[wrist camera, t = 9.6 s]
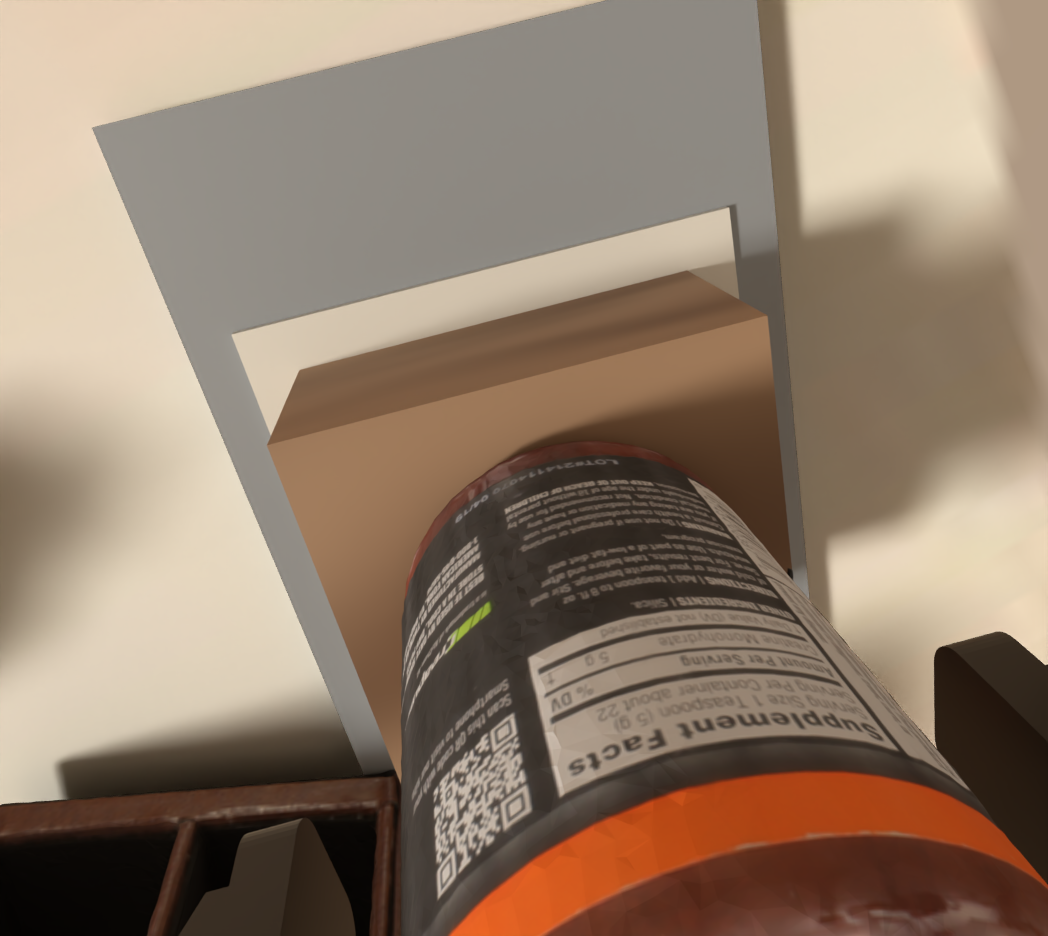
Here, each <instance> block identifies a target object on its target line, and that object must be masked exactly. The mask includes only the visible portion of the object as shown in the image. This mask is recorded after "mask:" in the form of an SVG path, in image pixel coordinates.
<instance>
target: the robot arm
mask: <svg viewBox="0 0 1048 936" xmlns="http://www.w3.org/2000/svg"><path fill="white" fill-rule="evenodd" d="M934 708H935V742H936V747H937V750H938V751H939V752H940V753H941V754H942V755H943V756H944V758H945V759H946V760H947V761H948V762H949V764H950V765H951V766H953V767H954V768H955V770H956V771H957V773H958V774H959V775H960V777H961V778H962V780H963V781H964V782H965V784H966V785H967V786H968V788H969V789H970V790H971V791H972V792H973V793H974V795H975V796H976V797H977V798H978V800H979V801H980V802H981V804H982V805H983V806H984V808H985V809H986V811H987V812H988V814H989V815H990V817H991V818H992V820H993V821H994V822H995V824H996V825H997V826H998V827H999V828H1000V829H1001V830H1002V832H1003V833H1004V834H1005V835H1006V836H1007V838H1008V839H1009V841H1010V842H1011V843H1012V844H1013V845H1014V846H1015V847H1016V848H1017V849H1018V850H1019V852H1020V853H1021V854H1022V855H1023V856H1024V857H1025V858H1026V860H1027V861H1028V862H1029V863H1030V864H1031V866H1032V867H1033V868H1034V869H1035V870H1036V872H1037V873H1038V874H1039V875H1040V876H1041V877H1042V879H1043V880H1044V881H1045V882H1046V883H1047V885H1048V665H1044V664H1043V663H1042V662H1041V661H1040V660H1038V659H1037V658H1036V657H1035V656H1034V655H1033V654H1031V653H1030V652H1029V651H1028V650H1027V649H1026V648H1025V647H1023V646H1022V645H1021V644H1020V643H1019V642H1018V641H1016V640H1015V639H1014V638H1013V637H1011V636H1010V635H1008V634H1006V633H1003V632H994V633H990V634H986V635H983V636H979V637H975V638H972V639H968V640H964V641H961V642H957V643H953V644H950V645H946V646H942V647H940V648H938V649H937V651H936V653H935V657H934ZM179 936H356V933H355V925H354V918H353V913H352V909H351V905H350V902H349V899H348V897H347V894H346V892H345V890H344V888H343V886H342V884H341V881H340V879H339V877H338V875H337V873H336V871H335V869H334V867H333V865H332V862H331V860H330V858H329V856H328V854H327V852H326V850H325V848H324V846H323V843H322V841H321V839H320V837H319V835H318V833H317V831H316V829H315V827H314V825H313V823H312V822H311V821H310V820H309V819H308V818H302V819H298V820H295V821H291V822H287V823H284V824H280V825H276V826H273V827H269V828H265V829H262V830H258V831H254V832H251V833H247V834H245V835H244V836H243V837H242V839H241V841H240V843H239V846H238V850H237V854H236V858H235V862H234V867H233V871H232V875H231V879H230V884H229V886H228V887H224V888H221V889H217V890H213V891H210V892H206V893H205V895H204V896H203V898H202V899H201V901H200V903H199V904H198V906H197V907H196V909H195V911H194V912H193V914H192V915H191V917H190V918H189V920H188V922H187V923H186V925H185V926H184V928H183V930H182V931H181V933H180V934H179Z"/></svg>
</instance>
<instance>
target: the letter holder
mask: <svg viewBox="0 0 1048 936" xmlns="http://www.w3.org/2000/svg"><path fill="white" fill-rule="evenodd" d="M302 818H308V819H309V820H310V821H311V822H312V823H313V825H314V827H315V829H316V831H317V833H318V835H319V837H320V839H321V841H322V843H323V846H324V848H325V850H326V852H327V854H328V856H329V858H330V860H331V862H332V865H333V867H334V869H335V871H336V873H337V875H338V877H339V879H340V881H341V884H342V886H343V888H344V890H345V892H346V894H347V897H348V899H349V902H350V905H351V909H352V913H353V918H354V925H355V933H356V936H401V877H400V876H401V783H400V780H399V778H398V775H397V773H396V770H389V771H386V772H382V773H378V774H370V775H363V776H351V777H340V778H331V779H318V780H305V781H296V782H285V783H268V784H255V785H242V786H232V787H218V788H204V789H193V790H177V791H164V792H153V793H140V794H125V795H121V796H105V797H95V798H84V799H70V800H54V801H38V802H32V803H10V804H2V805H0V936H179V934H180V933H181V931H182V930H183V928H184V926H185V925H186V923H187V922H188V920H189V918H190V917H191V915H192V914H193V912H194V911H195V909H196V907H197V906H198V904H199V903H200V901H201V899H202V898H203V896H204V895H205V893H206V892H210V891H213V890H217V889H221V888H224V887H228V886H229V884H230V879H231V875H232V871H233V867H234V862H235V858H236V854H237V850H238V846H239V843H240V841H241V839H242V837H243V836H244V835H245V834H247V833H251V832H254V831H258V830H262V829H265V828H269V827H273V826H276V825H280V824H284V823H287V822H291V821H295V820H298V819H302Z"/></svg>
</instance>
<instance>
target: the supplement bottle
mask: <svg viewBox="0 0 1048 936" xmlns="http://www.w3.org/2000/svg"><path fill="white" fill-rule="evenodd" d="M401 686H402V689H401V708H402V712H401V720H400V721H401V739H402V755H401V772H402V776H401V876H400V877H401V936H1048V885H1047V883H1046V882H1045V881H1044V880H1043V879H1042V877H1041V876H1040V875H1039V874H1038V873H1037V872H1036V870H1035V869H1034V868H1033V867H1032V866H1031V864H1030V863H1029V862H1028V861H1027V860H1026V858H1025V857H1024V856H1023V855H1022V854H1021V853H1020V852H1019V850H1018V849H1017V848H1016V847H1015V846H1014V845H1013V844H1012V843H1011V842H1010V841H1009V839H1008V838H1007V836H1006V835H1005V834H1004V833H1003V832H1002V830H1001V829H1000V828H999V827H998V826H997V825H996V824H995V822H994V821H993V820H992V818H991V817H990V815H989V814H988V812H987V811H986V809H985V808H984V806H983V805H982V804H981V802H980V801H979V800H978V798H977V797H976V796H975V795H974V793H973V792H972V791H971V790H970V789H969V788H968V786H967V785H966V784H965V782H964V781H963V780H962V778H961V777H960V775H959V774H958V773H957V771H956V770H955V768H954V767H953V766H951V765H950V764H949V762H948V761H947V760H946V759H945V758H944V756H943V755H942V754H941V753H940V752H939V751H938V750H937V749H936V747H935V746H934V745H933V744H932V743H931V742H930V741H929V739H928V738H927V737H926V736H925V735H924V734H923V732H922V731H921V730H920V729H919V728H918V727H917V726H916V725H915V724H914V723H913V721H912V720H911V719H910V718H909V717H908V716H907V715H906V714H905V713H904V711H903V710H902V709H901V708H900V706H899V705H898V704H897V703H896V702H895V700H894V699H893V698H892V697H891V695H890V694H889V693H888V692H887V691H886V689H885V688H884V687H883V686H882V685H881V684H880V683H879V681H878V680H877V679H876V678H875V676H874V675H873V674H872V673H871V671H870V670H869V669H868V668H867V667H866V665H865V664H864V663H863V662H862V661H861V660H860V659H859V658H858V657H857V655H856V654H855V653H854V652H853V651H852V650H851V649H850V648H849V646H848V645H847V643H846V642H845V641H844V640H843V639H842V637H841V636H840V635H839V634H838V633H837V632H836V631H835V629H834V628H833V627H832V626H831V624H830V623H829V622H828V621H827V620H826V618H825V617H824V616H823V615H822V614H821V613H820V612H819V611H818V610H817V609H816V607H815V606H814V605H813V604H812V603H811V601H810V600H809V599H808V598H807V596H806V595H805V594H804V593H803V592H802V591H801V589H800V588H799V587H798V586H797V585H796V584H795V582H794V581H793V570H792V569H790V568H788V570H787V573H786V572H785V571H784V570H783V568H782V567H781V566H780V565H779V564H778V562H777V561H776V560H775V559H774V558H773V557H772V555H771V554H770V553H769V552H768V550H767V549H766V548H765V546H764V545H763V544H762V543H761V542H760V541H759V540H758V539H757V537H756V536H755V535H754V534H753V533H752V532H751V531H750V529H749V528H748V527H747V526H746V524H745V523H744V522H743V521H742V520H741V519H740V518H739V516H738V515H737V514H736V513H735V512H734V511H733V510H732V509H731V508H730V507H729V506H728V505H727V504H726V503H725V502H723V501H722V500H721V499H720V497H719V496H718V495H717V494H716V493H715V492H714V491H713V490H712V489H711V488H710V487H709V486H708V485H707V483H706V482H704V481H703V480H702V479H701V478H699V477H698V476H697V475H695V474H694V473H693V472H691V471H690V470H689V469H688V468H686V467H684V466H682V465H681V464H679V463H676V462H675V461H673V460H672V459H670V458H669V457H667V456H664V455H662V454H659V453H658V452H655V451H652V450H649V449H645V448H642V447H637V446H634V445H630V444H623V443H617V442H605V441H576V442H567V443H561V444H556V445H548V446H544V447H540V448H537V449H534V450H531V451H528V452H525V453H522V454H519V455H517V456H514V457H512V458H510V459H508V460H505V461H503V462H501V463H499V464H497V465H496V466H494V467H493V468H491V469H489V470H488V471H487V472H485V473H484V474H483V475H482V476H480V477H479V478H477V479H476V480H474V481H473V482H471V483H470V484H468V485H467V486H466V487H465V488H464V489H463V490H462V491H460V492H459V493H458V494H457V495H456V496H454V497H453V498H452V499H451V500H450V501H449V503H448V504H447V505H446V506H445V508H444V509H443V510H442V511H441V513H440V514H439V515H438V516H437V517H436V518H435V519H434V521H433V523H432V524H431V526H430V528H429V530H428V531H427V533H426V535H425V537H424V538H423V540H422V542H421V543H420V545H419V547H418V549H417V551H416V554H415V556H414V560H413V563H412V566H411V569H410V572H409V575H408V578H407V582H406V593H405V600H404V612H403V615H402V676H401Z"/></svg>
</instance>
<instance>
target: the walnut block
mask: <svg viewBox="0 0 1048 936" xmlns="http://www.w3.org/2000/svg"><path fill="white" fill-rule="evenodd" d="M576 441H605V442H617V443H623V444H630V445H634V446H637V447H642V448H645V449H649V450H652V451H655V452H658V453H659V454H662V455H664V456H667V457H669V458H670V459H672V460H673V461H675V462H676V463H679V464H681V465H682V466H684V467H686V468H688V469H689V470H690V471H691V472H693V473H694V474H695V475H697V476H698V477H699V478H701V479H702V480H703V481H704V482H706V483H707V485H708V486H709V487H710V488H711V489H712V490H713V491H714V492H715V493H716V494H717V495H718V496H719V497H720V499H721V500H722V501H723V502H725V503H726V504H727V505H728V506H729V507H730V508H731V509H732V510H733V511H734V512H735V513H736V514H737V515H738V516H739V518H740V519H741V520H742V521H743V522H744V523H745V524H746V526H747V527H748V528H749V529H750V531H751V532H752V533H753V534H754V535H755V536H756V537H757V539H758V540H759V541H760V542H761V543H762V544H763V545H764V546H765V548H766V549H767V550H768V552H769V553H770V554H771V555H772V557H773V558H774V559H775V560H776V561H777V562H778V564H779V565H780V566H781V567H782V568H783V570H784V571H785V572H786V573H787V570H788V568H790V569H792V563H791V553H790V543H789V532H788V522H787V512H786V502H785V491H784V481H783V471H782V460H781V450H780V440H779V429H778V419H777V409H776V398H775V388H774V378H773V367H772V357H771V347H770V337H769V326H768V316H767V315H766V314H764V313H762V312H760V311H759V310H757V309H755V308H753V307H751V306H750V305H748V304H746V303H744V302H743V301H741V300H739V299H737V298H735V297H734V296H732V295H730V294H728V293H726V292H725V291H723V290H721V289H719V288H718V287H716V286H714V285H712V284H710V283H709V282H707V281H705V280H703V279H702V278H700V277H698V276H696V275H694V274H693V273H691V272H689V271H683V272H679V273H675V274H671V275H667V276H663V277H659V278H655V279H652V280H648V281H644V282H640V283H636V284H632V285H628V286H624V287H620V288H617V289H613V290H609V291H605V292H601V293H597V294H593V295H589V296H585V297H582V298H578V299H574V300H570V301H566V302H562V303H558V304H554V305H550V306H547V307H543V308H539V309H535V310H531V311H527V312H523V313H519V314H515V315H512V316H508V317H504V318H500V319H496V320H492V321H488V322H484V323H480V324H477V325H473V326H469V327H465V328H461V329H457V330H453V331H449V332H445V333H442V334H438V335H434V336H430V337H426V338H422V339H418V340H414V341H410V342H407V343H403V344H399V345H395V346H391V347H387V348H383V349H379V350H375V351H372V352H368V353H364V354H360V355H356V356H352V357H348V358H344V359H340V360H337V361H333V362H329V363H325V364H321V365H317V366H313V367H309V368H305V369H302V370H299V372H298V374H297V376H296V379H295V381H294V383H293V386H292V388H291V390H290V393H289V395H288V397H287V400H286V402H285V404H284V407H283V409H282V411H281V414H280V416H279V418H278V420H277V423H276V425H275V427H274V430H273V432H272V434H271V437H270V439H269V441H268V444H267V447H268V450H269V452H270V455H271V457H272V460H273V462H274V465H275V467H276V470H277V472H278V475H279V478H280V480H281V483H282V485H283V488H284V490H285V493H286V495H287V498H288V500H289V503H290V505H291V508H292V510H293V513H294V515H295V518H296V520H297V523H298V525H299V528H300V531H301V533H302V536H303V538H304V541H305V543H306V546H307V548H308V551H309V553H310V556H311V558H312V561H313V563H314V566H315V568H316V571H317V573H318V576H319V578H320V581H321V584H322V586H323V589H324V591H325V594H326V596H327V599H328V601H329V604H330V606H331V609H332V611H333V614H334V616H335V619H336V621H337V624H338V626H339V629H340V632H341V634H342V637H343V639H344V642H345V644H346V647H347V649H348V652H349V654H350V657H351V659H352V662H353V664H354V667H355V669H356V672H357V674H358V677H359V679H360V682H361V685H362V687H363V690H364V692H365V695H366V697H367V700H368V702H369V705H370V707H371V710H372V712H373V715H374V717H375V720H376V722H377V725H378V727H379V730H380V732H381V735H382V738H383V740H384V743H385V745H386V748H387V750H388V753H389V755H390V758H391V760H392V763H393V765H394V768H395V770H396V773H397V775H398V778H399V780H400V783H401V776H402V772H401V755H402V739H401V721H400V720H401V712H402V708H401V689H402V686H401V676H402V615H403V612H404V600H405V593H406V582H407V578H408V575H409V572H410V569H411V566H412V563H413V560H414V556H415V554H416V551H417V549H418V547H419V545H420V543H421V542H422V540H423V538H424V537H425V535H426V533H427V531H428V530H429V528H430V526H431V524H432V523H433V521H434V519H435V518H436V517H437V516H438V515H439V514H440V513H441V511H442V510H443V509H444V508H445V506H446V505H447V504H448V503H449V501H450V500H451V499H452V498H453V497H454V496H456V495H457V494H458V493H459V492H460V491H462V490H463V489H464V488H465V487H466V486H467V485H468V484H470V483H471V482H473V481H474V480H476V479H477V478H479V477H480V476H482V475H483V474H484V473H485V472H487V471H488V470H489V469H491V468H493V467H494V466H496V465H497V464H499V463H501V462H503V461H505V460H508V459H510V458H512V457H514V456H517V455H519V454H522V453H525V452H528V451H531V450H534V449H537V448H540V447H544V446H548V445H556V444H561V443H567V442H576Z"/></svg>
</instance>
